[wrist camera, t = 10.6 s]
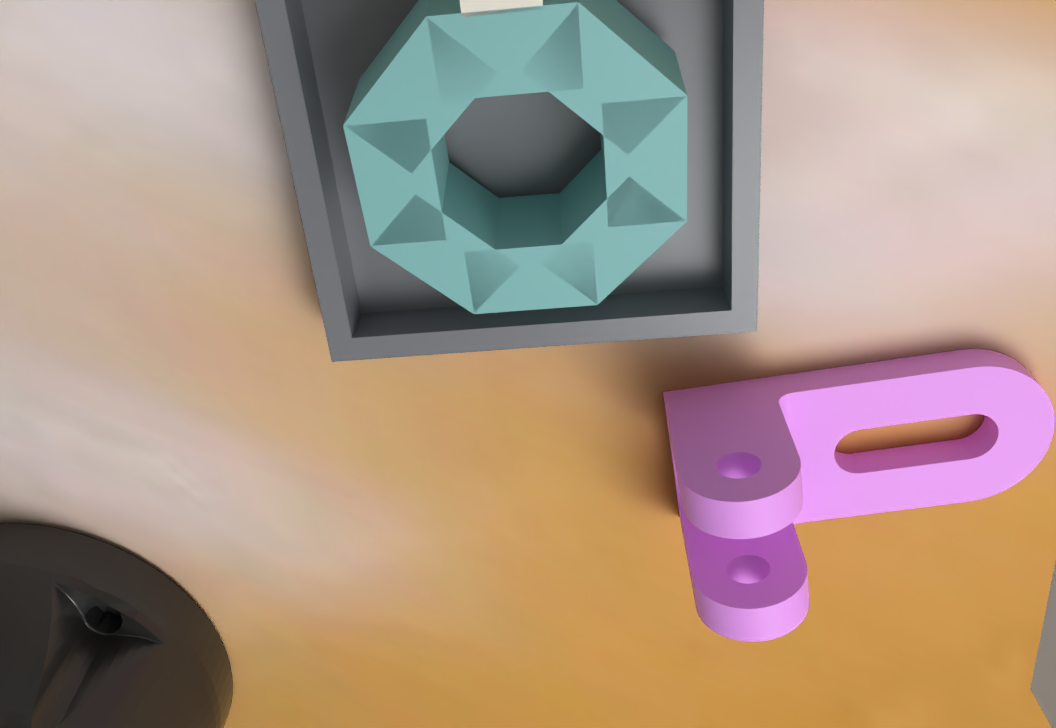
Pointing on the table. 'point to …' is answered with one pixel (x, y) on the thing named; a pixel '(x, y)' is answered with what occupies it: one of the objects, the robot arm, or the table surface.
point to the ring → (536, 220)
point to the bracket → (832, 467)
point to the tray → (524, 184)
